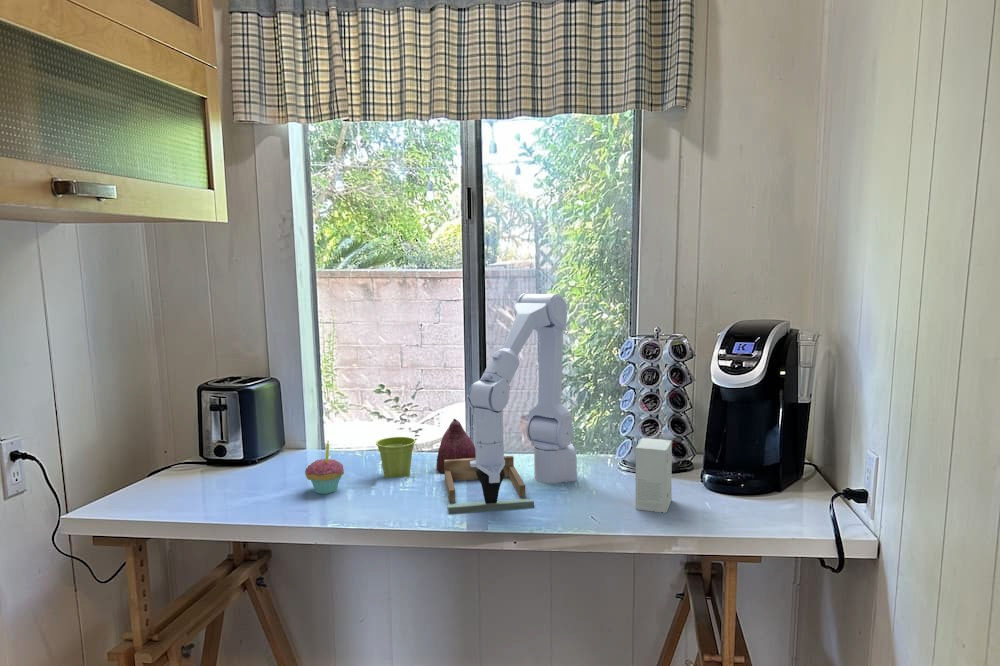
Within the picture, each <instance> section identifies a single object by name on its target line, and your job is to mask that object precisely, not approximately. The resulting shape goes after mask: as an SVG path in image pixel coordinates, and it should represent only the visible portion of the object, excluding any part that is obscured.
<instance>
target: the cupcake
mask: <svg viewBox="0 0 1000 666" xmlns="http://www.w3.org/2000/svg"><path fill="white" fill-rule="evenodd" d="M329 454H330V442H329V440H327V443H326V444H325V458H323V459H316V460H315V461H313V462H312V463H310V464H308V466H307V467H306V469H305V470H304V474H305V478H307V480H308V481H311V483H312V486H313V489H314V491H315V493H316V494H319V495H321V494H322V495H325V494H331V493H335V492H336V491H337V490H338V487H339V483H340V480H341V478H342V476H343V475H345V474H344V473H345V469H344V466H343V463H341V462H340V461H338V460H336V459H329V458H330V456H329Z"/></svg>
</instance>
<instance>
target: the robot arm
mask: <svg viewBox="0 0 1000 666" xmlns="http://www.w3.org/2000/svg"><path fill="white" fill-rule="evenodd" d="M567 305H568V303H567V302H566V300H565V299H564V297H563V296H562V295H561V294H560V293H557V292H556V293H525V292H524V293H522V294H520V295H518V298H517V300H516V303H515V304H514V307H513V309H514V312H513V313H514V317H515V318H514V320H513V323H512V324H511V328H510V329H509V332H508V334H507V337H506V339H505V342H504V344H503V347H502V348H500V349H498V350H495V351H494V353H493V355H492V356H491V359H490V360H489V362H488V364H487V366H486V368H485V370H484V371H483V374H482V375H481V378H480V379H479V380H477V381H475V382H473V383H472V384H471V385H470V387H469V389H468V393H467V394H468V395H467V396H466V400H467V404H468V405H469V408H471V415H472V417H473V418H474V419H473V420H474V446H475V453H476V460H474V461H470V466H471V467H477V468H478V469H477V470H476V474H477V477H478V479H477V480H479V482H480V484H481V489H482V494H483V499H484V502H485V503H486V504H490V503H497V501H498V499H499V498H498V497H499V493H500V487H501V484H502V481H503V480H504V478H505V477H504V476H505V473H504V469H503V467H504V466H505V460H504V456H505V452H504V417H503V416H504V414H503V413H504V410H505V408H506V406H507V405H508V403H509V398H510V391H511V385H510V384H511V383H512V380H513V378H514V376H515V374H516V372H517V370H518V368H519V366H520V360H519V354H520V353H521V352H522V349H523V348H524V346H525V344H526V343H527V341H528V339H529V338H530V336H531V335H532V333H533V332H534V330H535V331H536V333H537V334H538V335H539V361H538V362H539V363H538V364H539V365H538V392H537V393H538V395H537V399H538V400H537V404H536V405H534V407H532V408H531V409H530V410H529V411H528V419H527V422H526V425H525V426H526V427H525V434H526V437H527V439H528V440H529V442H531V444H530V445H531V446H533V451H534V452H533V456H534V460H533V462H534V463H533V465H534V466H533V467H534V468H533V469H534V480H535V481H536V482H538V483H539V482H540V483H542V484H559V483H563V482H564V483H566V482H576V481H578V479H577V478H578V475H577V474H578V473H577V469H578V467H577V460H578V459H577V452H576V448H575V446H574V444H571V442H572V441H573V438H574V426H573V420H572V415H573V414H572V412H570V411H569V410H568V409H567V408H566V407H565V406H564V405H563V404H562V384H563V383H562V382H563V357H564V355H563V354H564V353H563V352H564V331H565V330H566V329H567V312H568V311H567V310H568V309H567V308H568V307H567Z"/></svg>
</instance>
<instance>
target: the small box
mask: <svg viewBox="0 0 1000 666" xmlns="http://www.w3.org/2000/svg"><path fill="white" fill-rule="evenodd" d="M672 447H673V441H672V440H669V439H661V438H659V439H658V438H646V437H643V438H641V440H640V441H639V442H638V443H637V445H636V446H635V449H634V451H635V510H637V509H638V511H646V512H647V511H648V512H653V511H654V512H655V513H661V512H663V513H662V514H666V513H667V512H668V509H669V507H670V505H671V502H672V501H673V500H672V499H673V497H672V494H673V493H672V490H673V489H672V486H673V485H672V474H673V473H672V471H673V470H672V468H673V467H672V466H673V460H672V458H673V457H672V455H673V452H672V449H673V448H672Z"/></svg>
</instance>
